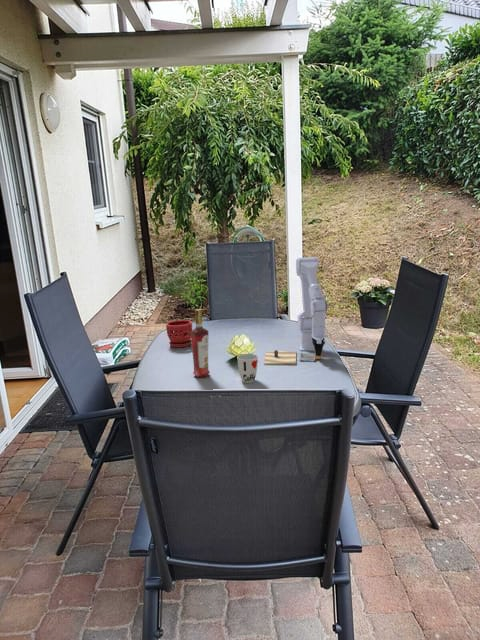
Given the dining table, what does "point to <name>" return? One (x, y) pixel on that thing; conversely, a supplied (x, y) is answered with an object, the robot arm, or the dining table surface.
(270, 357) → the board
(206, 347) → the liquor
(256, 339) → the dining table surface
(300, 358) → the square frame with cube
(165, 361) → the dining table surface
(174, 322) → the plant pot
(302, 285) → the robot arm
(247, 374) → the cup
